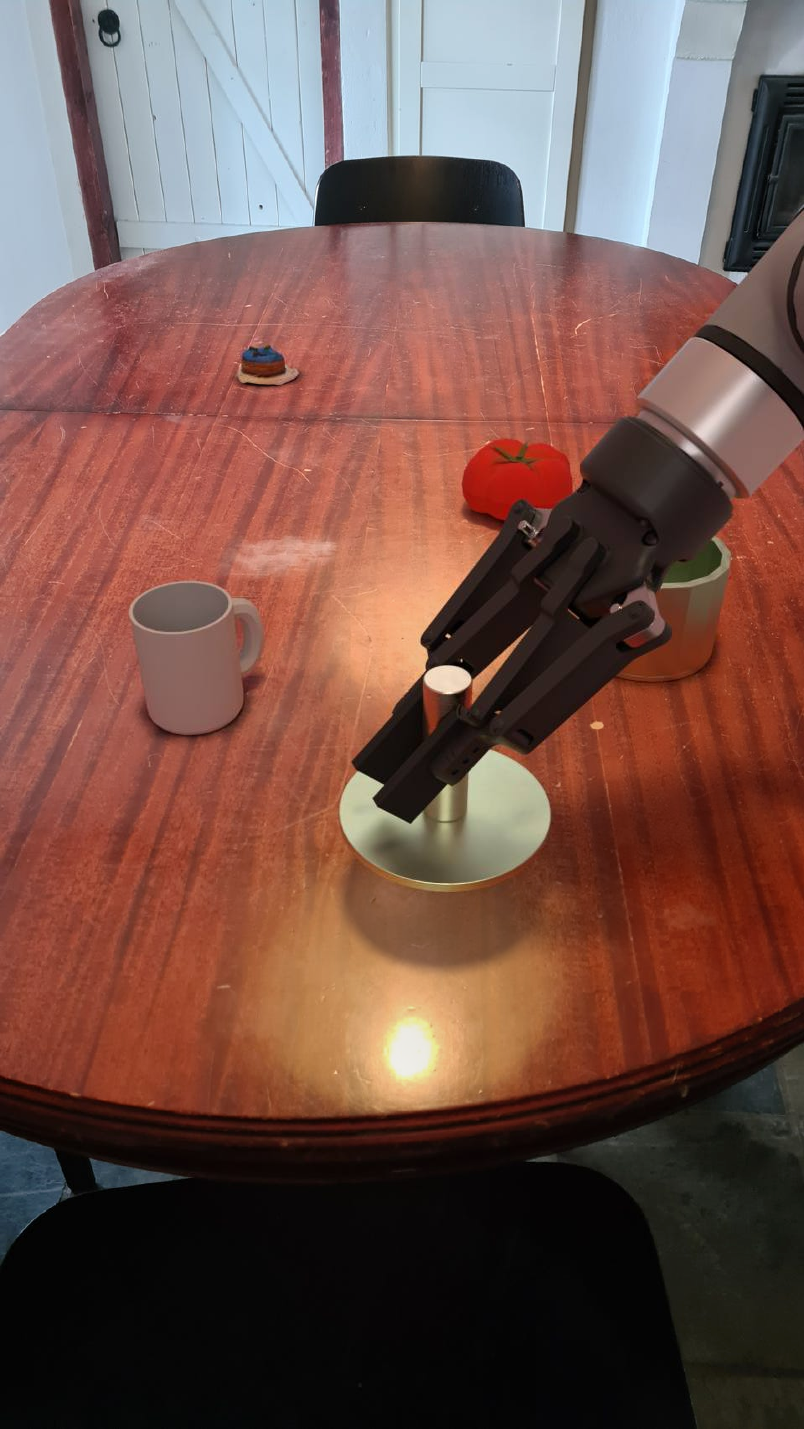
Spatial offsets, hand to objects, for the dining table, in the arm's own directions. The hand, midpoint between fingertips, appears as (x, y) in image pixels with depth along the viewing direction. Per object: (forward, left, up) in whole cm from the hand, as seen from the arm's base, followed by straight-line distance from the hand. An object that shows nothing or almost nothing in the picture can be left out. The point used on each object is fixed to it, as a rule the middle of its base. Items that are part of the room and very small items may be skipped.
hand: (381, 792), depth 57 cm
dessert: (+83, +44, -9) cm, 94 cm away
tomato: (+54, +4, -9) cm, 55 cm away
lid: (+3, -3, -3) cm, 5 cm away
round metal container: (+34, -11, -9) cm, 36 cm away
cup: (+16, +19, -9) cm, 26 cm away
